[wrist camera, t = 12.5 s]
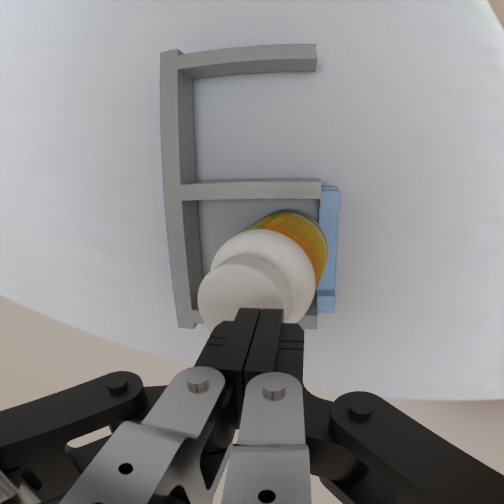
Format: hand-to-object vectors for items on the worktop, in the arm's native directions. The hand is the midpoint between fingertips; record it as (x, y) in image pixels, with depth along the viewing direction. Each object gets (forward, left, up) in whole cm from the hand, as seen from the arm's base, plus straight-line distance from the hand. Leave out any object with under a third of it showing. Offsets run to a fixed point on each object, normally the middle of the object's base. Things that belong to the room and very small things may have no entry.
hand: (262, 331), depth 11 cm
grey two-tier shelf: (-4, -2, -12) cm, 13 cm away
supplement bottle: (0, 0, -12) cm, 12 cm away
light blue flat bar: (0, +3, -12) cm, 12 cm away
